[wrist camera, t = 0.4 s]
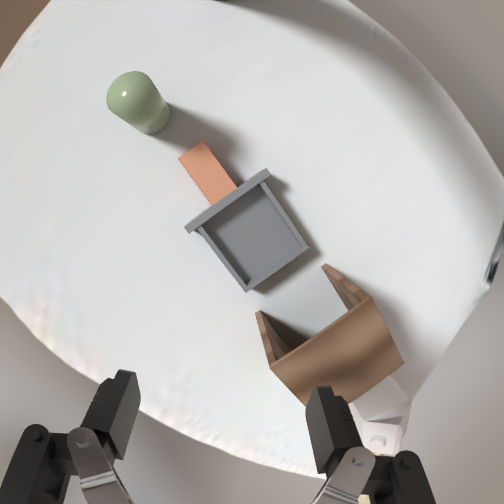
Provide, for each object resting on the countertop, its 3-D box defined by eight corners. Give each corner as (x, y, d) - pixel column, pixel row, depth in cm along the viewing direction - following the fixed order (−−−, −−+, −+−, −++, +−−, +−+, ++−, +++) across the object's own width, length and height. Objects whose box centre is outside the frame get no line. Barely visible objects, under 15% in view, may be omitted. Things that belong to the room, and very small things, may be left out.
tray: (155, 180, 34) (149, 179, 31) (231, 126, 34) (231, 120, 31) (237, 290, 38) (238, 298, 36) (309, 239, 38) (316, 243, 35)
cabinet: (255, 313, 40) (270, 368, 26) (325, 263, 39) (371, 297, 26) (295, 362, 42) (320, 421, 29) (358, 318, 42) (403, 363, 28)
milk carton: (365, 345, 43) (427, 417, 24) (366, 376, 45) (418, 448, 26) (326, 359, 43) (375, 442, 24) (330, 390, 44) (372, 470, 26)
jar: (134, 102, 32) (107, 76, 22) (170, 96, 32) (153, 67, 23) (134, 136, 33) (105, 120, 23) (170, 131, 33) (152, 111, 24)
